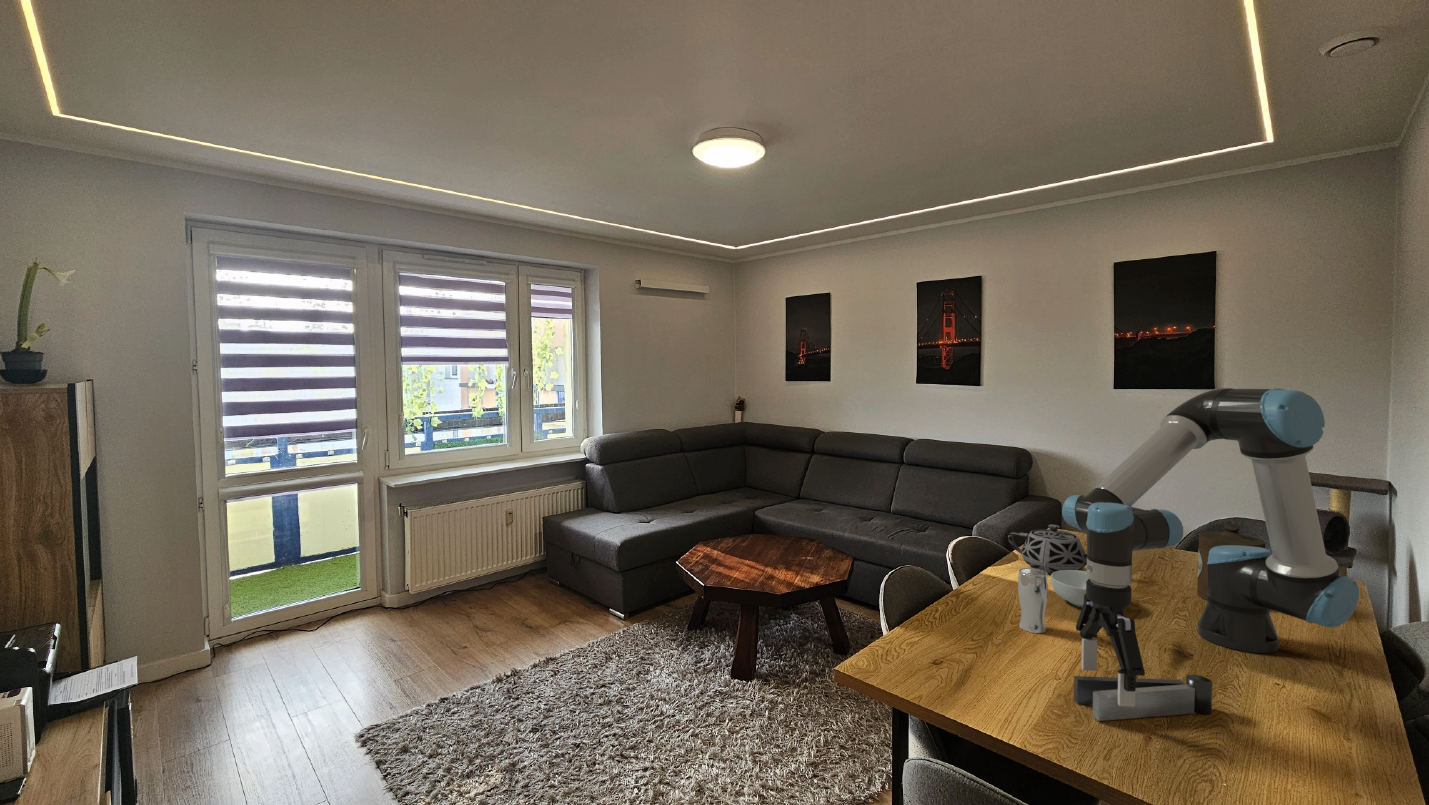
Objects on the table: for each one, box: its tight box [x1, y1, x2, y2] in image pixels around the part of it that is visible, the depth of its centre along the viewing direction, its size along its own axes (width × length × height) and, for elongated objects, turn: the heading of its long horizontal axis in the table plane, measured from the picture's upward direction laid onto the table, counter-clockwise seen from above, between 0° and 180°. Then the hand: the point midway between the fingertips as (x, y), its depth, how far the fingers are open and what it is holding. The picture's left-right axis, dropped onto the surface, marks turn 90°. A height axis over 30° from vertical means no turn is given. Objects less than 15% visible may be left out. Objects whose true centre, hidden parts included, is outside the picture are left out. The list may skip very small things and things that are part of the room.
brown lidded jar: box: [1196, 523, 1266, 601], centre depth 172 cm, size 15×15×22 cm
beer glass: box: [1017, 567, 1049, 634], centre depth 155 cm, size 7×7×15 cm
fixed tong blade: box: [1073, 674, 1213, 716], centre depth 119 cm, size 24×4×6 cm, turn 84°
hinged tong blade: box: [1092, 683, 1195, 722], centre depth 115 cm, size 20×2×5 cm, turn 96°
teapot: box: [1007, 524, 1087, 575], centre depth 201 cm, size 19×31×15 cm, turn 47°
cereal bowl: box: [1050, 570, 1089, 608], centre depth 172 cm, size 17×17×7 cm
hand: (1106, 686), depth 119 cm, fingers open, 13 cm apart
